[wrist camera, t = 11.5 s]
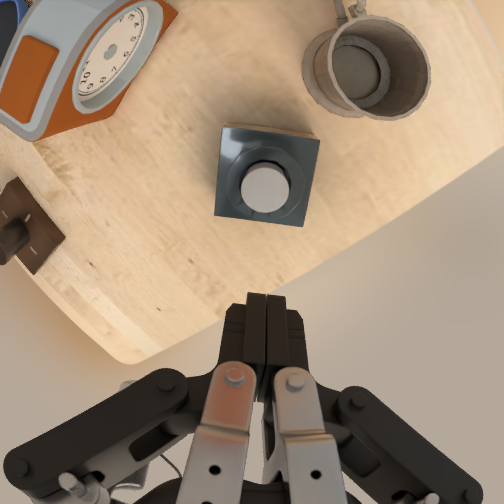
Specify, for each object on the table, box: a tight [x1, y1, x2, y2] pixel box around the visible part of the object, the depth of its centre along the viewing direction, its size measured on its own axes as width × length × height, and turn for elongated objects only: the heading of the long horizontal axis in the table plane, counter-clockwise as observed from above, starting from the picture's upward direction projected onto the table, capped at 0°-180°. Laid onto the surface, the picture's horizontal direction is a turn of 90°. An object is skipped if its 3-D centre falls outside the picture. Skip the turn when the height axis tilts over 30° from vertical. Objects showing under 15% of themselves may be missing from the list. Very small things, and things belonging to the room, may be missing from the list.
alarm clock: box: [0, 0, 178, 142], centre depth 19 cm, size 15×8×14 cm, turn 144°
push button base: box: [214, 122, 320, 227], centre depth 29 cm, size 9×9×6 cm
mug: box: [302, 0, 431, 121], centre depth 20 cm, size 14×10×12 cm
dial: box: [0, 218, 29, 265], centre depth 31 cm, size 4×4×6 cm
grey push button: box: [241, 162, 289, 213], centre depth 26 cm, size 4×4×2 cm
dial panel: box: [0, 177, 66, 275], centre depth 35 cm, size 12×9×3 cm
